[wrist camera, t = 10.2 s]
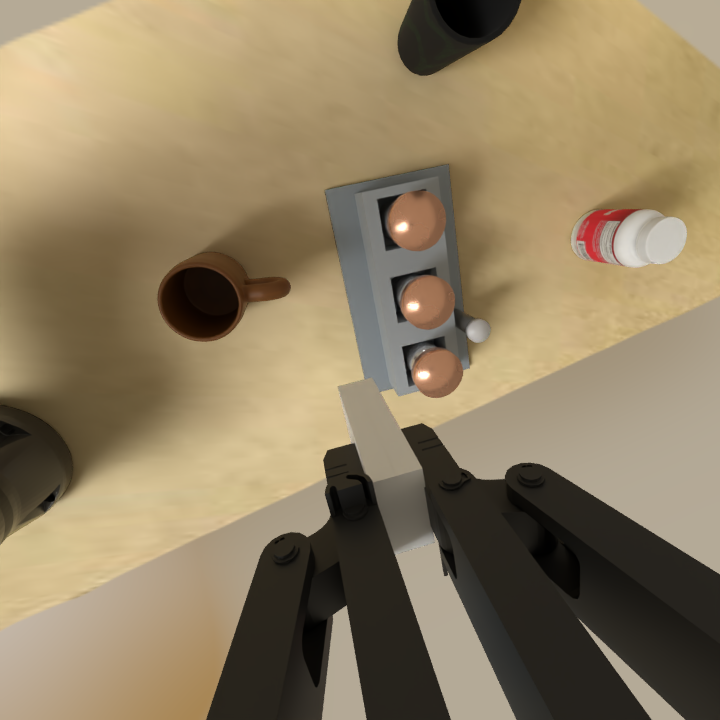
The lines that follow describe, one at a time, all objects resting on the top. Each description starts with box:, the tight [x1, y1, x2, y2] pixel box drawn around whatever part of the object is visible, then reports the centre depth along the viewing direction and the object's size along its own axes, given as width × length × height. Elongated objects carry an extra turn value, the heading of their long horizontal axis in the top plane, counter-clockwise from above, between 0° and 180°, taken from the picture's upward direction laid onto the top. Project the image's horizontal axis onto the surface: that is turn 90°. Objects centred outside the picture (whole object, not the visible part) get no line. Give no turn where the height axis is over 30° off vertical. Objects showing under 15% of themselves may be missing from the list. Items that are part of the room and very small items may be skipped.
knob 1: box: [379, 190, 446, 251], centre depth 42 cm, size 5×5×8 cm
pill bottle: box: [571, 209, 687, 267], centre depth 47 cm, size 6×6×11 cm
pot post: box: [454, 309, 491, 343], centre depth 48 cm, size 3×3×7 cm
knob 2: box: [402, 340, 463, 398], centre depth 48 cm, size 5×5×8 cm
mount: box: [325, 164, 470, 396], centre depth 47 cm, size 14×25×5 cm, turn 11°
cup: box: [398, 0, 521, 76], centre depth 36 cm, size 8×8×12 cm
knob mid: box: [391, 273, 455, 330], centre depth 45 cm, size 5×5×8 cm
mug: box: [158, 252, 291, 342], centre depth 42 cm, size 12×8×9 cm, turn 97°
